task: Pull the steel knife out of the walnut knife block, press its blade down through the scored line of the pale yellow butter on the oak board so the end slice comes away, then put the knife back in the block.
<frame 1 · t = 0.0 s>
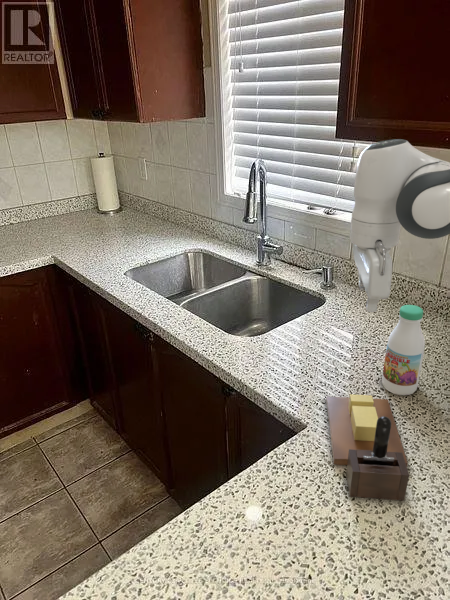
hand: (366, 299, 89), 24 cm above the worktop, tool pointing down, fingers open, 8 cm apart
milk bottle: (398, 386, 103), on the worktop
knife: (379, 454, 75), in the knife block
knife block: (374, 486, 78), on the worktop
butter block: (363, 429, 88), point 1 cm above the worktop, touching board
butter slice: (359, 411, 93), point 1 cm above the worktop, touching board
board: (362, 432, 90), on the worktop
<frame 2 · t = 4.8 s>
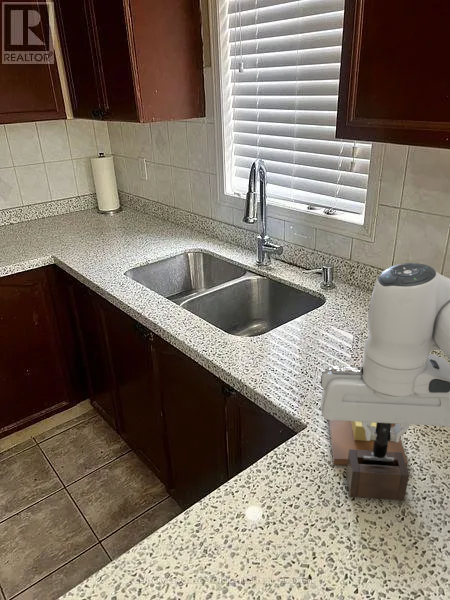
hand: (381, 438, 73), 11 cm above the worktop, tool pointing down, fingers closed on knife, 2 cm apart
knife: (379, 454, 75), in the knife block, touching gripper
everything else where it was.
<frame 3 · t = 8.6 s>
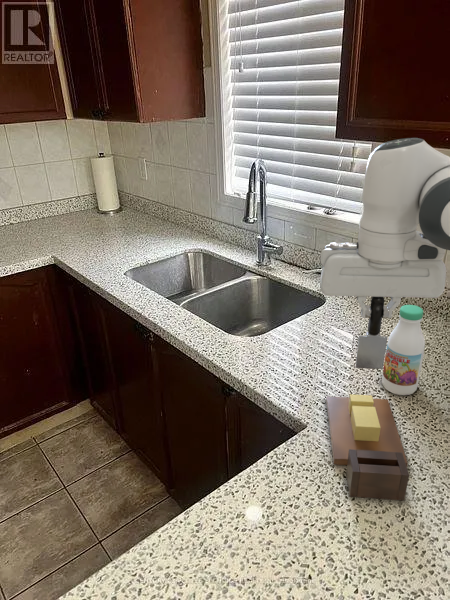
hand: (375, 316, 80), 26 cm above the worktop, tool pointing down, fingers closed on knife, 2 cm apart
knife: (373, 332, 81), point 22 cm above the worktop, touching gripper
everything else where it was.
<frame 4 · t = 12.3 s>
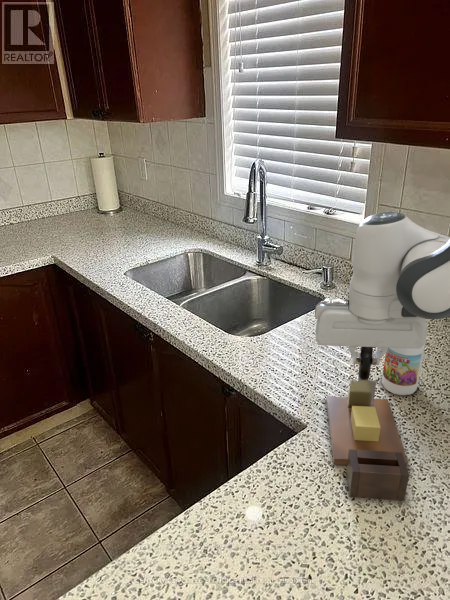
hand: (365, 363, 88), 13 cm above the worktop, tool pointing down, fingers closed on knife, 2 cm apart
knife: (363, 377, 90), point 10 cm above the worktop, touching butter slice, gripper
butter slice: (358, 407, 94), point 2 cm above the worktop, touching board, knife
everything else where it was.
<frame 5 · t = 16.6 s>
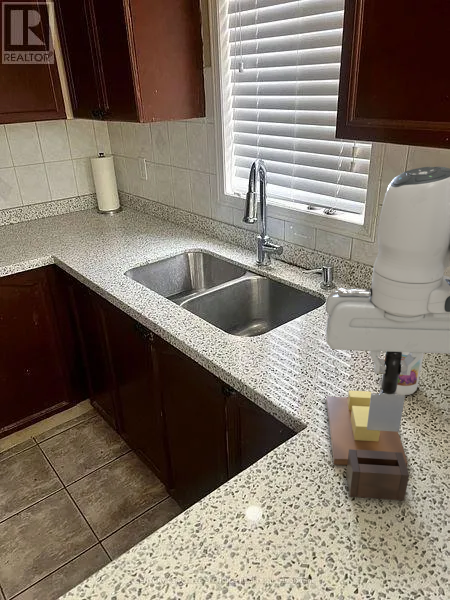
hand: (391, 372, 68), 24 cm above the worktop, tool pointing down, fingers closed on knife, 2 cm apart
knife: (388, 390, 69), point 21 cm above the worktop, touching gripper
butter slice: (358, 407, 94), point 1 cm above the worktop, touching board
everything else where it was.
when the fingers open (11 cm above the worktop, at t = 19.7 s): knife stays where it is, resting on knife block.
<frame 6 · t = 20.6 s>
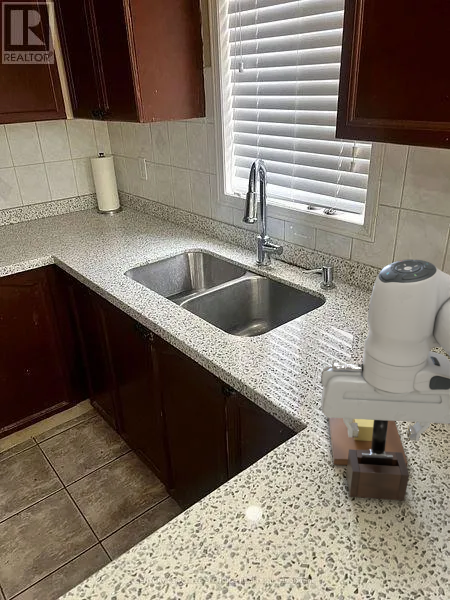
hand: (382, 436, 73), 12 cm above the worktop, tool pointing down, fingers open, 8 cm apart
knife: (377, 450, 75), resting in knife block, tilted 9°
everything else where it was.
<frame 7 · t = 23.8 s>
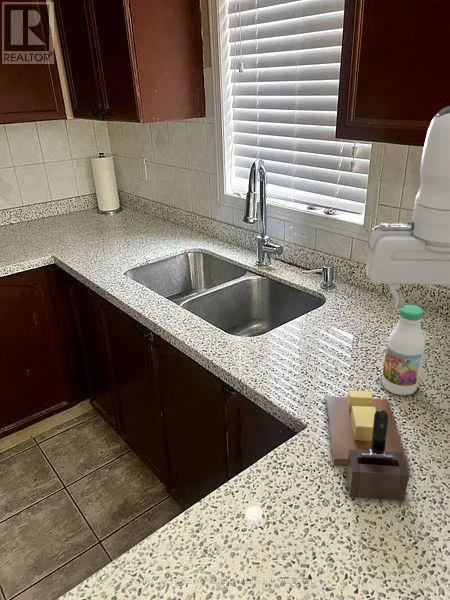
hand: (428, 307, 71), 31 cm above the worktop, tool pointing down, fingers open, 8 cm apart
nothing on the worktop moved.
at the end: butter slice moved 1.3 cm from its start; butter block moved 0.0 cm from its start; knife 0.4 cm off-centre on the knife block, point 7.7 cm above the knife block's base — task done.
